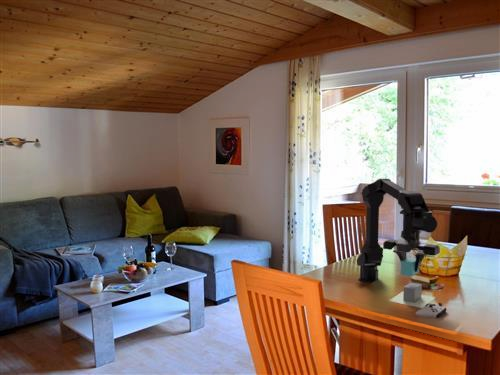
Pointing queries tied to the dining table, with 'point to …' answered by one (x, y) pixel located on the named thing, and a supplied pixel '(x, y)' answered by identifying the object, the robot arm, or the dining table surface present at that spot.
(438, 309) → the gaming controller
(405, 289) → the grey rectangular block
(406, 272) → the teal brick
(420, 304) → the base plate
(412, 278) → the toy sandwich meal
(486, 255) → the dining table surface
